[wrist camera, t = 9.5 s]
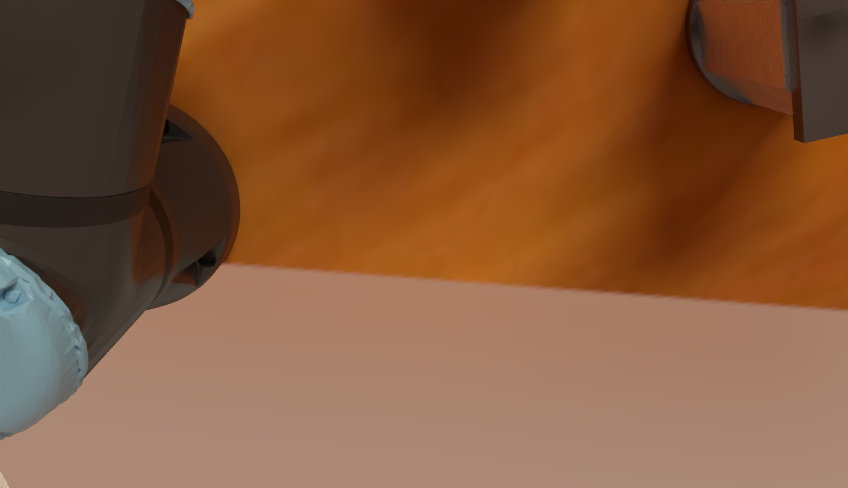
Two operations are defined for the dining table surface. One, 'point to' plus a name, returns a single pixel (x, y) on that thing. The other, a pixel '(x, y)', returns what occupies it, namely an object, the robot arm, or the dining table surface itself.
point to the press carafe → (777, 58)
